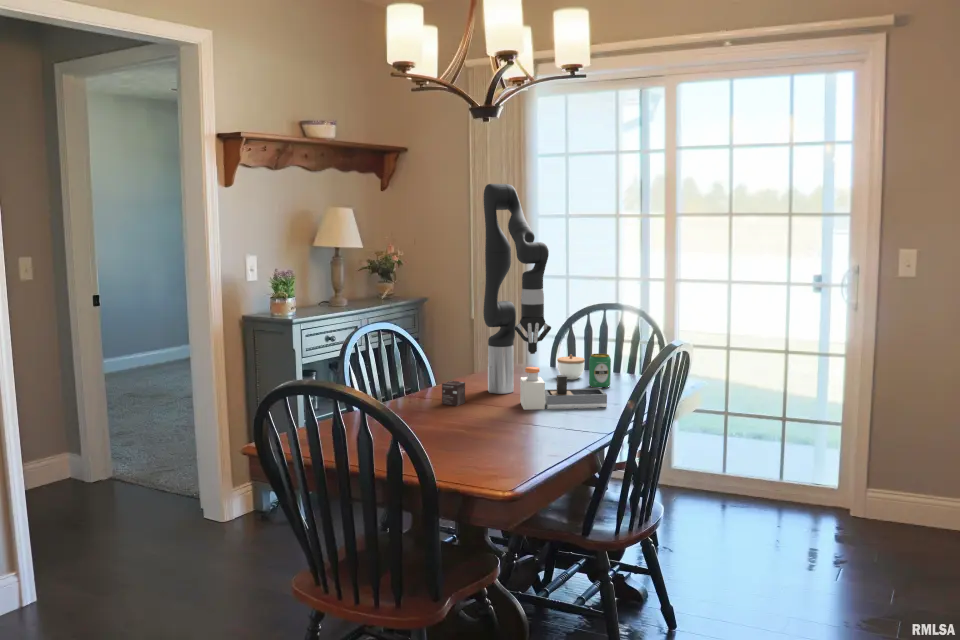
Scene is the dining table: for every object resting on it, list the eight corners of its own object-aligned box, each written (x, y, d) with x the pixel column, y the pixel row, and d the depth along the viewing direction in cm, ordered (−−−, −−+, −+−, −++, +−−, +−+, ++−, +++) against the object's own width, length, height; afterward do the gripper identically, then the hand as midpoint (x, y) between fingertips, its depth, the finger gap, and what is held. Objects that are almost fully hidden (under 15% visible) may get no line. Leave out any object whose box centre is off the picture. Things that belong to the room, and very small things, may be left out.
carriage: (553, 402, 276) (553, 378, 275) (549, 398, 283) (549, 374, 282) (573, 402, 277) (573, 377, 276) (569, 397, 284) (570, 373, 283)
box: (441, 404, 283) (441, 383, 282) (450, 401, 288) (450, 380, 287) (457, 406, 280) (456, 385, 279) (465, 402, 285) (465, 381, 284)
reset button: (526, 383, 276) (526, 369, 275) (524, 380, 281) (524, 367, 280) (540, 383, 276) (540, 369, 276) (538, 380, 281) (538, 366, 280)
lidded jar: (554, 375, 332) (554, 353, 331) (579, 374, 334) (580, 352, 332) (561, 381, 321) (561, 357, 320) (587, 380, 323) (588, 356, 322)
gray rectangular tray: (547, 409, 275) (547, 395, 274) (543, 402, 285) (543, 389, 284) (606, 407, 276) (607, 394, 276) (600, 401, 286) (600, 388, 286)
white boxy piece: (523, 409, 274) (523, 383, 273) (520, 402, 284) (520, 377, 283) (544, 409, 275) (544, 382, 274) (540, 402, 285) (540, 376, 284)
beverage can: (590, 388, 307) (591, 356, 306) (587, 384, 315) (587, 353, 313) (612, 388, 307) (612, 356, 306) (608, 384, 315) (608, 353, 314)
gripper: (514, 303, 271) (514, 355, 273) (553, 303, 272) (553, 355, 274) (511, 301, 278) (511, 352, 281) (550, 301, 279) (550, 351, 281)
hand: (532, 353), depth 277 cm, fingers closed
